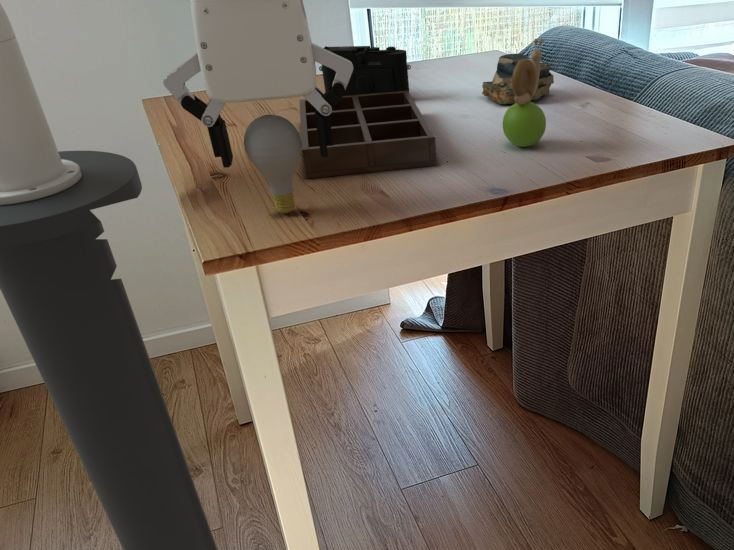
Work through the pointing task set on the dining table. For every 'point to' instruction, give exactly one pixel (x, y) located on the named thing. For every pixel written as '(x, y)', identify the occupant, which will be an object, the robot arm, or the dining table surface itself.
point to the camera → (371, 70)
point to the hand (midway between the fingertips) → (277, 158)
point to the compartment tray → (368, 136)
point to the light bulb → (275, 156)
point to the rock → (502, 80)
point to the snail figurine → (525, 103)
